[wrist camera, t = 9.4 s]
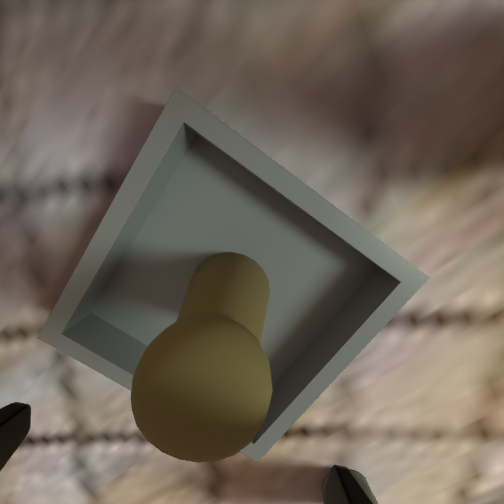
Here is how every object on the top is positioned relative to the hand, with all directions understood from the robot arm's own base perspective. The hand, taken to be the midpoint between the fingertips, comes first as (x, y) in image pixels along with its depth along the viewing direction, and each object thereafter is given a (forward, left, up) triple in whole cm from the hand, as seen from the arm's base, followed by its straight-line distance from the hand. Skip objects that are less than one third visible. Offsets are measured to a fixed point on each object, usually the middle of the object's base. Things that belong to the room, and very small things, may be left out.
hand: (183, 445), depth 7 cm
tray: (0, 0, -13) cm, 13 cm away
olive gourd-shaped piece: (0, 0, -12) cm, 12 cm away
